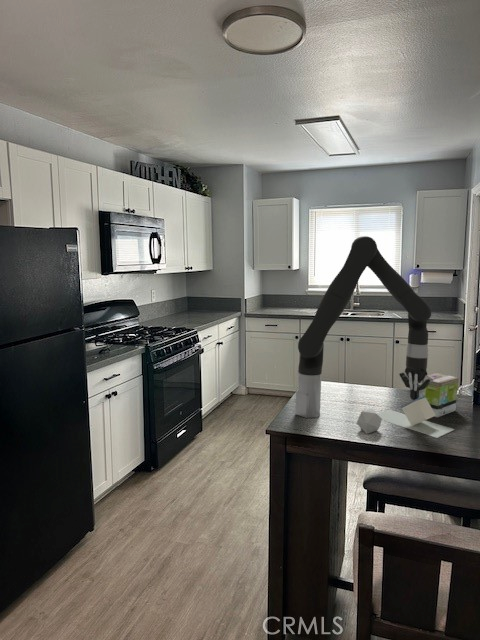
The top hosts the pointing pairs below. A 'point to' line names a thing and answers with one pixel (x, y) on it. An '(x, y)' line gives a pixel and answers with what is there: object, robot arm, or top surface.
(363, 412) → the die
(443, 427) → the mat
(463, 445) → the top surface
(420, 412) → the cream block
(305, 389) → the robot arm
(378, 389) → the top surface
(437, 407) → the tea box
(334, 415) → the top surface
